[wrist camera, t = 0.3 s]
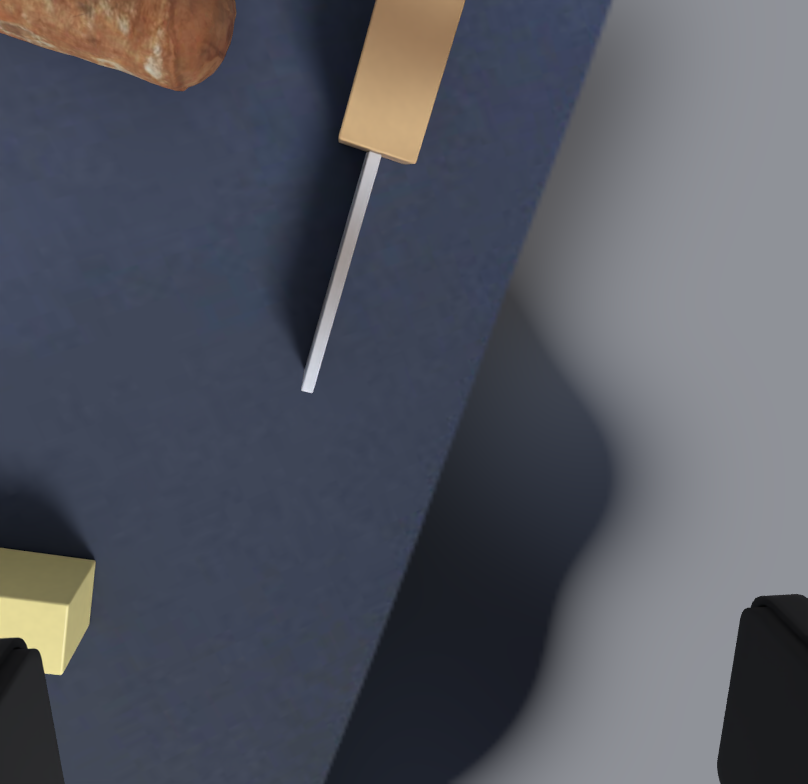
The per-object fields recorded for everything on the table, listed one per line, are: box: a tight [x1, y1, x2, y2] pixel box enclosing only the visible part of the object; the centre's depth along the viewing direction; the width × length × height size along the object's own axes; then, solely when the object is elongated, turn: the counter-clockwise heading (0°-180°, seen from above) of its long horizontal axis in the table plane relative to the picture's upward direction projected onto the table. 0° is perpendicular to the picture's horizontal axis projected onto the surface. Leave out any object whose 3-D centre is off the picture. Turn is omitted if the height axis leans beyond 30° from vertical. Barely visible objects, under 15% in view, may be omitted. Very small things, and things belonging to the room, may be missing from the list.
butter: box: [0, 548, 95, 675], centre depth 26 cm, size 5×3×3 cm, turn 78°
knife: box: [301, 0, 465, 393], centre depth 23 cm, size 15×2×3 cm, turn 163°
